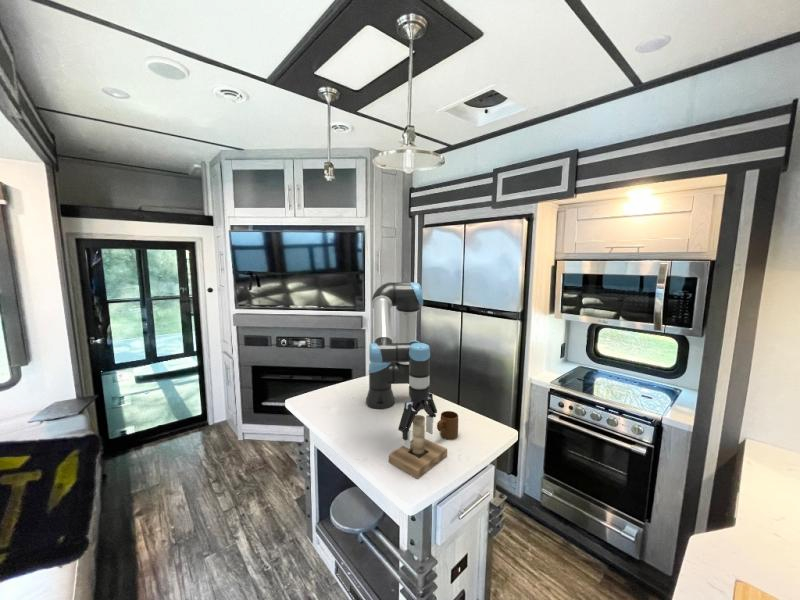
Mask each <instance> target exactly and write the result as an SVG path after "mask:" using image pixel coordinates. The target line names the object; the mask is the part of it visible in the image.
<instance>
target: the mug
mask: <svg viewBox="0 0 800 600" xmlns="http://www.w3.org/2000/svg"><path fill="white" fill-rule="evenodd" d="M436 430H437V431H438V432H440V433H439V435H440V436H441V437H442V438H443V439H444V440H450V441H451V440H455V439H457V438H458V435H459V414H458V413H457V412H455V411H452V410H446V411H442V412H441V413H440V420H438V421H437V423H436Z"/></svg>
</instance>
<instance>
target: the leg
mask: <svg viewBox="0 0 800 600" xmlns="http://www.w3.org/2000/svg"><path fill="white" fill-rule="evenodd" d="M425 432H426V416H423V415H422V414H421V415H420V414H417V415H415V418H414V420H413V422H412V440H413V451H412V453H413V454H414V456H416V457H418V458H421V457H423V455H424V453H425V451H424V449H425V439H426V437H425V435H426V433H425Z"/></svg>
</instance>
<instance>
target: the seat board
mask: <svg viewBox="0 0 800 600" xmlns="http://www.w3.org/2000/svg"><path fill="white" fill-rule="evenodd" d="M412 451H413V439H412V440H410V449H408V448H406V447H404V446H403V445H401V446H400V447H398V448H397V449H396V450H394V451H392V452H391V453H389V454H388V463H389V464H390V465H393V466H394V467H396V468H398V469H399V470H401V471H403V472H404V473H406V474H408V475H410V476H412V477H414V478H415V479H417V480H418V479H420V478H421V477H422V476H424V475H425V474H426V473H427V472H428V471H430V470H431V469H433V468H435V466H437V465H438V464H439V463H441V461H442V462H443V460H444V459H446V458H447V457H448V448H446V447H444V446H442V445H440V444H437V443H435V442H433V441H431V440H429V439H427V438H425V449H424V451H425V453H424V455H423V457H421V458H418V457H416V456H414V454H413V453H412Z"/></svg>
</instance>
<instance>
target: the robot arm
mask: <svg viewBox="0 0 800 600" xmlns="http://www.w3.org/2000/svg"><path fill="white" fill-rule="evenodd" d="M422 290H423V289H422V286H421V284H420V283H419V282H411V281H408V282H407V281H403V282H401V281H398V282H386V283H384V284H381V285H380V286H379V287H378V288H377V289H376V290H375V291H374V293H373V294H372V296H371V307H372V309H373V343H370V344H369V346H368V347H369V356H368V357H369V361H370V363H369V366H368V392H367V395H366V397H365V405H366V406H367V407H369V408H371V409H374V410H382V409H383V410H384V409H388V408H391V407H392V406H394V405H395V396H394V394H393V389H392V385H400V384H401V385H404V384H406V385H407V384H408V385H409V386H408V395H409V398H410V401H409V402H404V404H403V405H404V407H403V411H402V414H401V418H400V422H399V425H398V428H397V429H398V431H399V432H401V433H402V439H403V440H402V442H403V443H402V444H403V445H402V446H404V447H406V448H408V449H410V441H411V427H412V425H413V420H414V418H415V416H416V415H419V414H418V413H419V412H420V411H421V410H424V411H425V413H426V414H427V415H426V416H425V432H427V433H428V434H431V435H432V434H433V432H434V429H433V428H434V418H436V417H437V413H438V410H437V406H436V404H435V402H434V398H433V393H432V392H430V365H431V364H430V362H431V361H430V360H431V359H430V358H431V350H430V345H429V344H426V343H424V342H420V341H418V340H416V337H417V336H416V335H417V334H416V333H417V332H416V331H417V313H418V312H420V308H421V307H423V305H424V296H423V291H422ZM392 307H396V308H395V309H396V311H397V312H398V342H393V333H392V332H393V331H392V330H393V329H392V315H391V309H392Z"/></svg>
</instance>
